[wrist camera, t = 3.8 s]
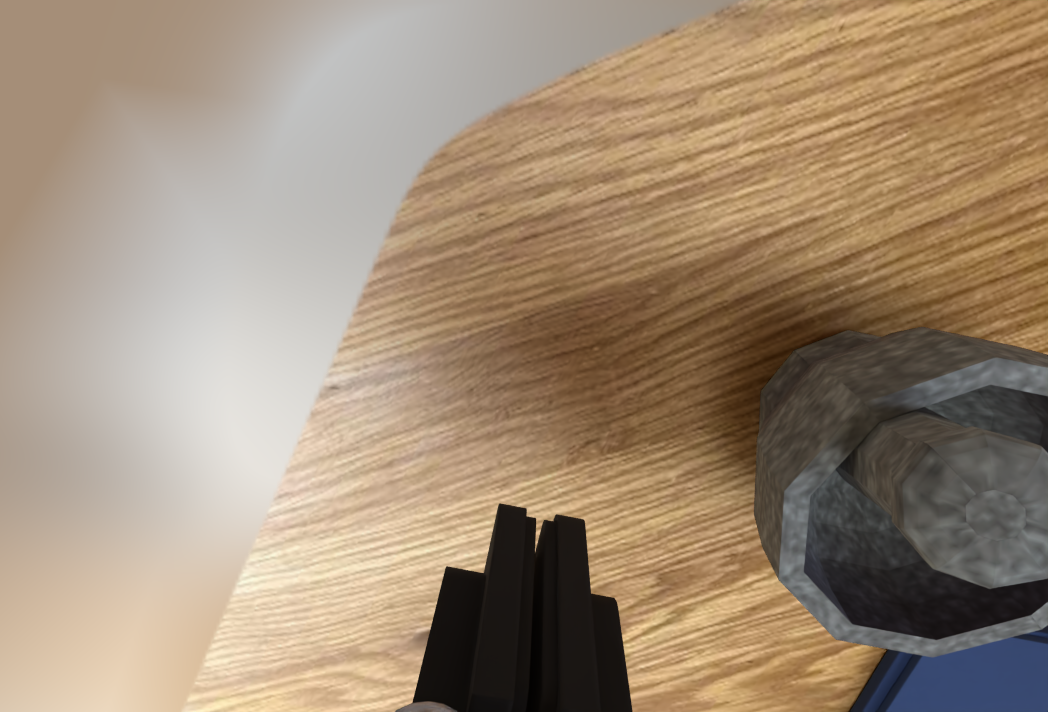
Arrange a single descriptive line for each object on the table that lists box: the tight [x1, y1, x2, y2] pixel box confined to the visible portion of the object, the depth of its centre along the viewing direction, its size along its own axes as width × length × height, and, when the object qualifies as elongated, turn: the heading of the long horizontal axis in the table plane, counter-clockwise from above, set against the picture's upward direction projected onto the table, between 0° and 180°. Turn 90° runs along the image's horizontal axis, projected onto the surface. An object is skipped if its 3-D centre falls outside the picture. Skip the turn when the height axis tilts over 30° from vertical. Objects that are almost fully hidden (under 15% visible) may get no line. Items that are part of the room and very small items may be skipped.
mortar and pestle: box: [754, 327, 1048, 658], centre depth 16 cm, size 11×9×12 cm
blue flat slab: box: [850, 625, 1048, 712], centre depth 27 cm, size 12×9×1 cm
